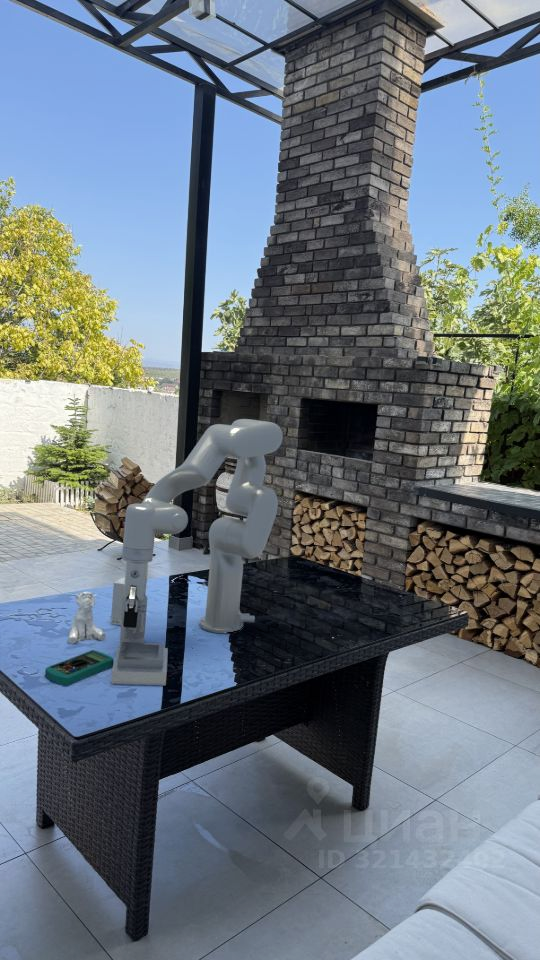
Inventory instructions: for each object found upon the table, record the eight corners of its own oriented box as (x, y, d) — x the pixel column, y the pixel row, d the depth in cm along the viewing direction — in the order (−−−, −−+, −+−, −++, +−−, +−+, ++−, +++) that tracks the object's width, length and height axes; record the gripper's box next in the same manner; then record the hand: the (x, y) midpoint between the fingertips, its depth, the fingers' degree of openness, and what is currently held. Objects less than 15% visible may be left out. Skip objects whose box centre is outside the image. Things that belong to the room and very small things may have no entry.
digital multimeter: (41, 679, 140) (42, 666, 140) (92, 659, 153) (93, 647, 152) (64, 689, 136) (65, 676, 136) (114, 668, 149) (115, 656, 149)
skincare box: (124, 626, 175) (127, 584, 173) (110, 624, 175) (113, 582, 174) (133, 619, 180) (136, 579, 179) (119, 617, 181) (122, 576, 180)
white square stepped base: (166, 659, 155) (168, 640, 155) (165, 685, 142) (167, 664, 141) (117, 658, 154) (118, 638, 153) (110, 684, 140) (112, 662, 139)
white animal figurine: (68, 645, 159) (71, 599, 157) (60, 633, 166) (62, 588, 164) (105, 640, 164) (108, 595, 162) (95, 629, 171) (98, 586, 170)
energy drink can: (142, 644, 164) (146, 587, 162) (145, 653, 158) (149, 595, 156) (118, 644, 162) (122, 588, 160) (120, 654, 156) (124, 595, 154)
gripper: (151, 563, 149) (144, 633, 151) (154, 547, 166) (148, 610, 168) (118, 560, 148) (112, 631, 149) (125, 544, 165) (119, 608, 166)
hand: (131, 620), depth 158 cm, fingers open, 9 cm apart
